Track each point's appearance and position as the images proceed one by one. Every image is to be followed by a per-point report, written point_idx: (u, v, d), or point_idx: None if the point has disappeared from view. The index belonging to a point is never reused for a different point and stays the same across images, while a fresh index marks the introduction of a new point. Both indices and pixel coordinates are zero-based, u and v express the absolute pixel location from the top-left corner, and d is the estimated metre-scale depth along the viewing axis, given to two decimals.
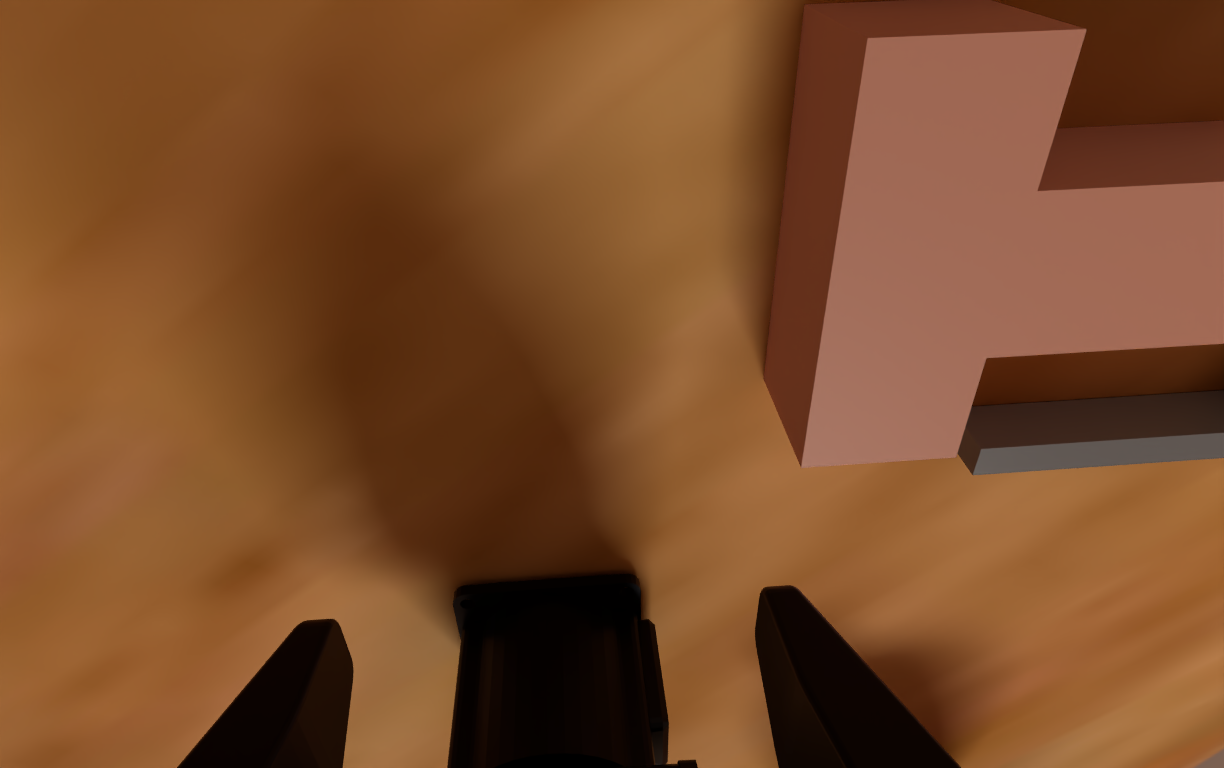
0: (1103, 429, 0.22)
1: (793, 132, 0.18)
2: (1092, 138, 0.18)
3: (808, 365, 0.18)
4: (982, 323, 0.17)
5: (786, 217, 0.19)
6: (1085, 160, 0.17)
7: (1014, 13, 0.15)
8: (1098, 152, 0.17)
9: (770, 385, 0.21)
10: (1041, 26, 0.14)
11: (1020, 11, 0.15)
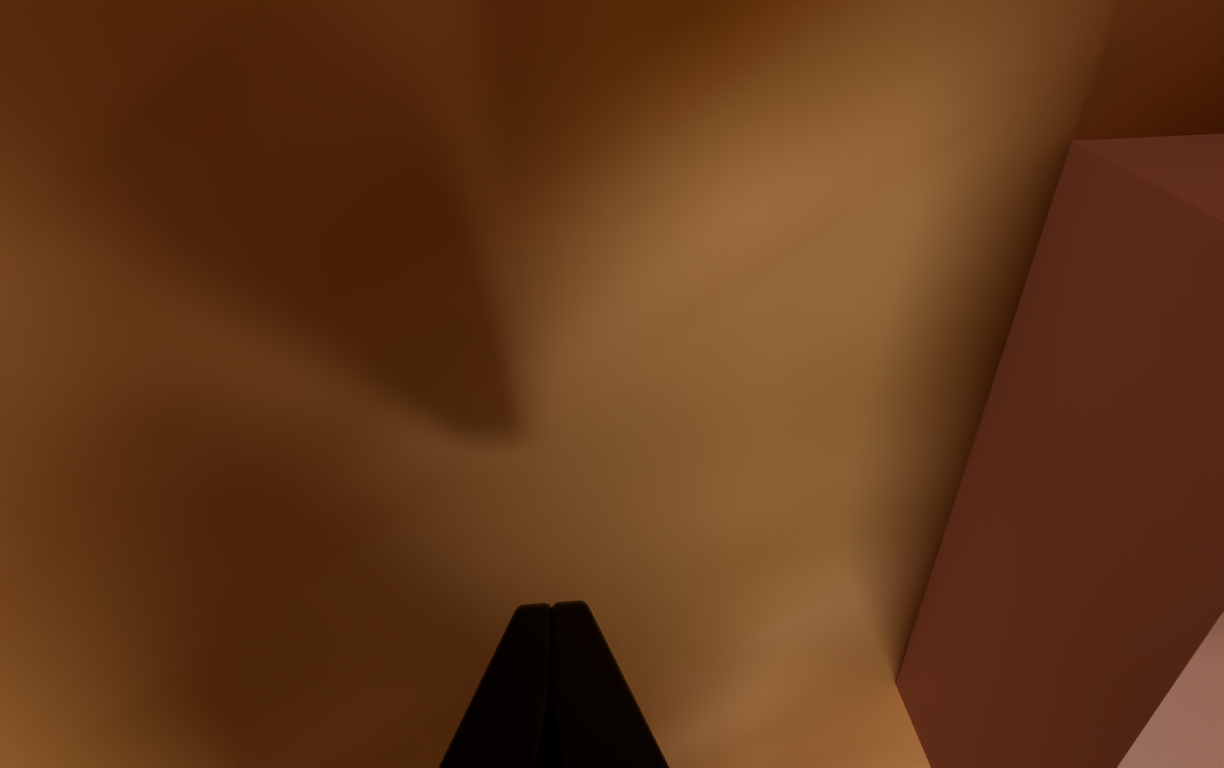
0: None
1: (1013, 362, 0.10)
2: None
3: None
4: None
5: (979, 492, 0.11)
6: None
7: None
8: None
9: (914, 712, 0.13)
10: None
11: None
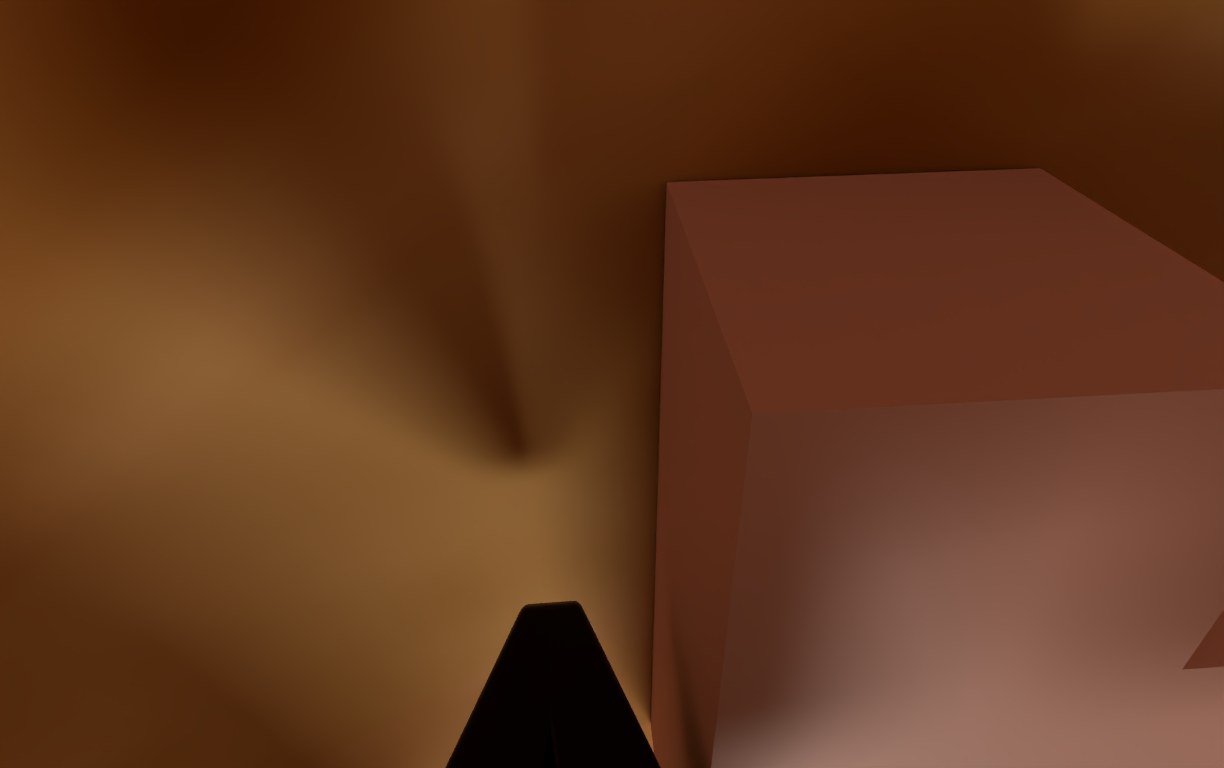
0: None
1: (662, 408, 0.09)
2: None
3: None
4: None
5: (660, 540, 0.10)
6: None
7: (1137, 256, 0.06)
8: None
9: None
10: None
11: (1149, 248, 0.06)
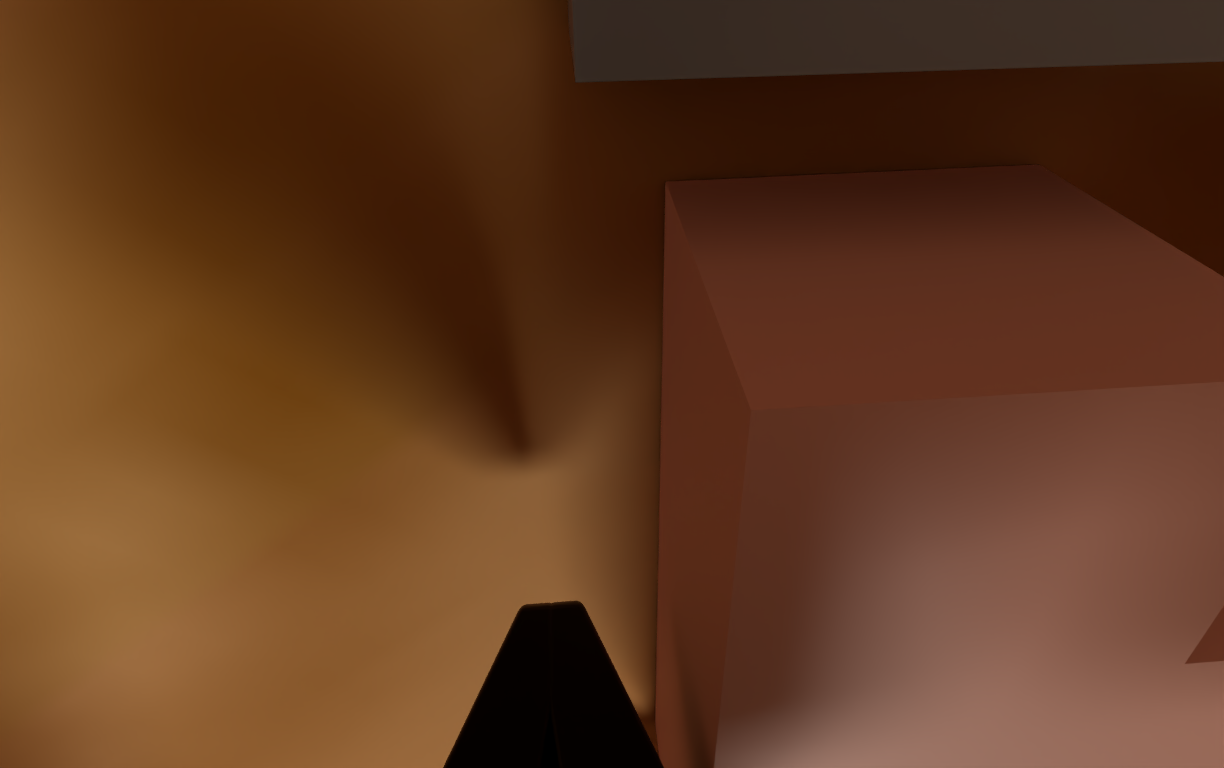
0: None
1: (664, 407, 0.09)
2: None
3: None
4: None
5: (663, 539, 0.10)
6: None
7: (1135, 251, 0.06)
8: None
9: (660, 757, 0.13)
10: None
11: (1148, 243, 0.06)
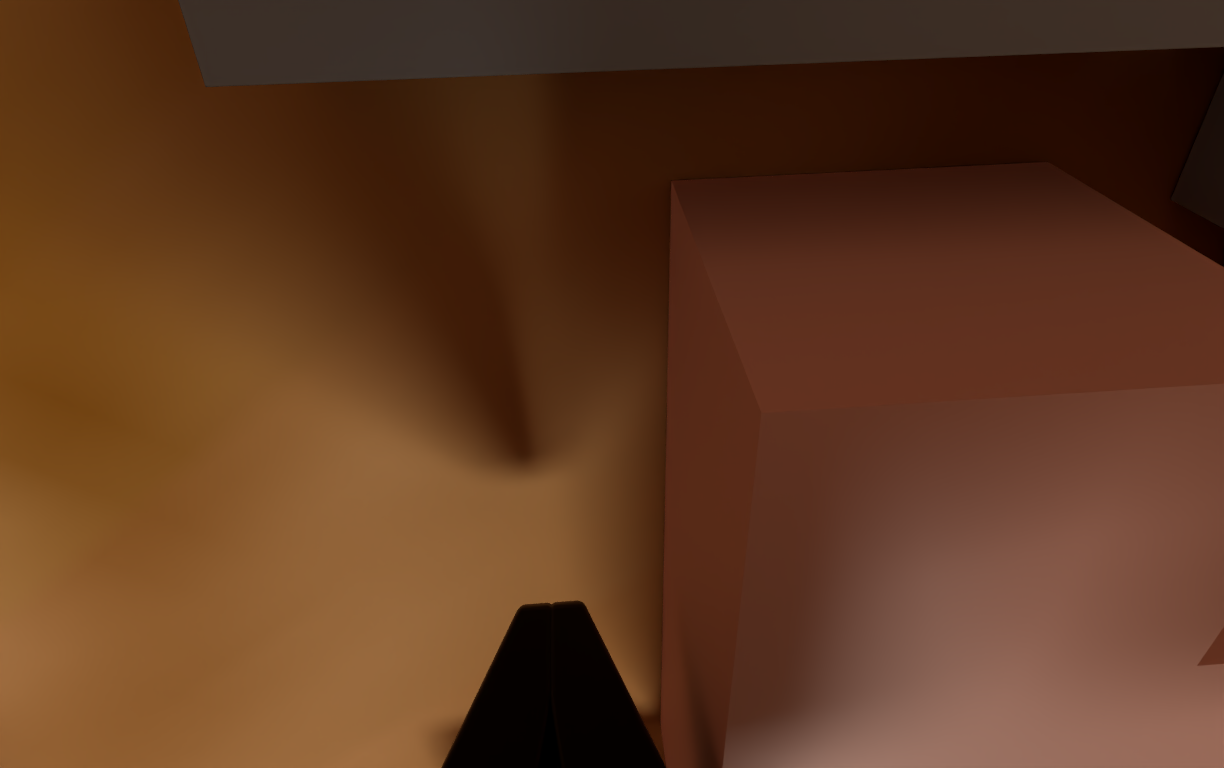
0: None
1: (669, 407, 0.09)
2: None
3: None
4: None
5: (668, 539, 0.10)
6: None
7: (1147, 250, 0.06)
8: None
9: (665, 757, 0.13)
10: None
11: (1159, 241, 0.06)
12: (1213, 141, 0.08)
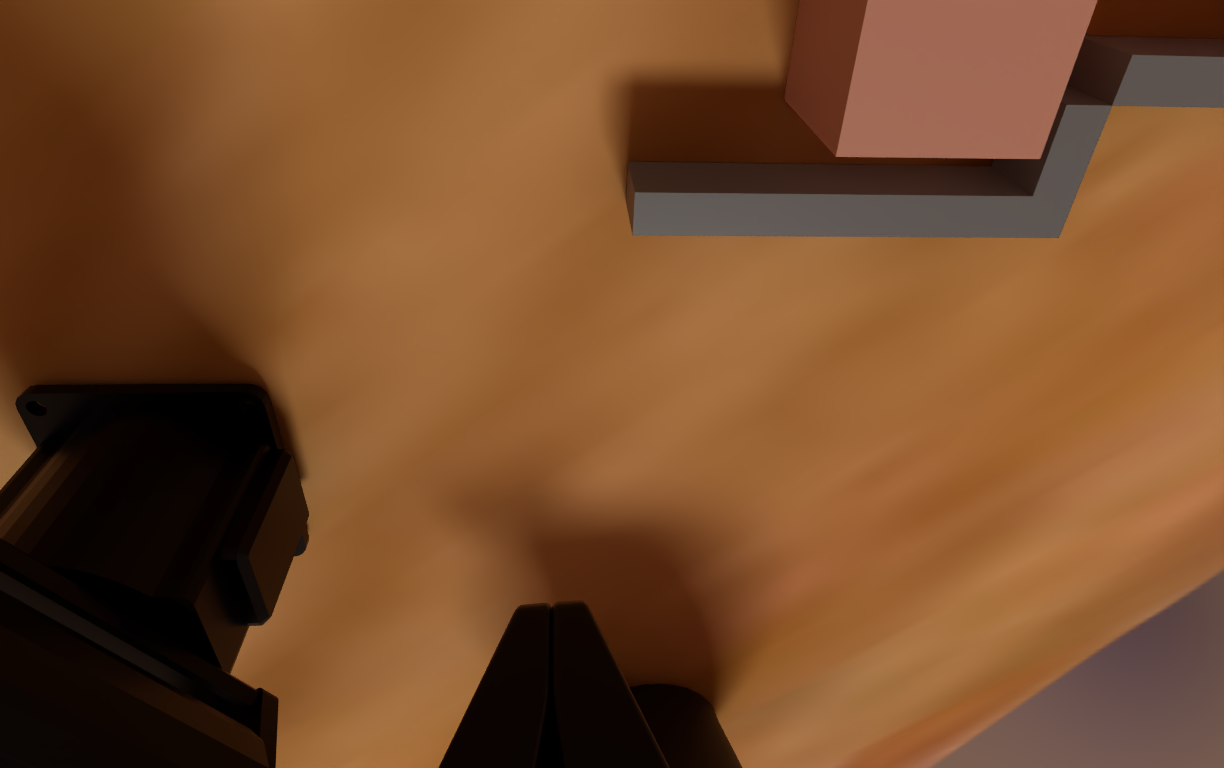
0: (806, 186, 0.17)
1: None
2: None
3: None
4: None
5: None
6: None
7: None
8: None
9: (794, 95, 0.17)
10: None
11: None
12: None
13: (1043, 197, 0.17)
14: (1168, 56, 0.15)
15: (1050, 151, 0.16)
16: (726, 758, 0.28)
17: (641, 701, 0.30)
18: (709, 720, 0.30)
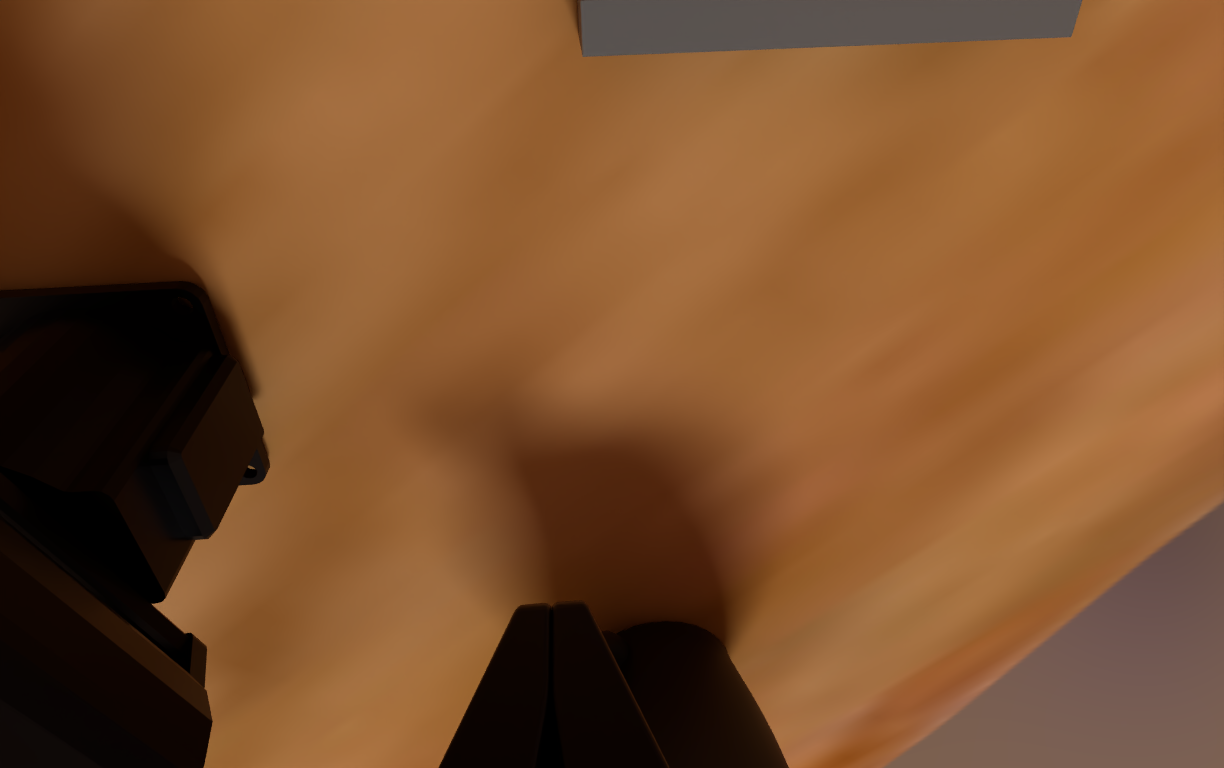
0: None
1: None
2: None
3: None
4: None
5: None
6: None
7: None
8: None
9: None
10: None
11: None
12: None
13: None
14: None
15: None
16: (739, 693, 0.26)
17: (645, 639, 0.28)
18: (720, 656, 0.28)
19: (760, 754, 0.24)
